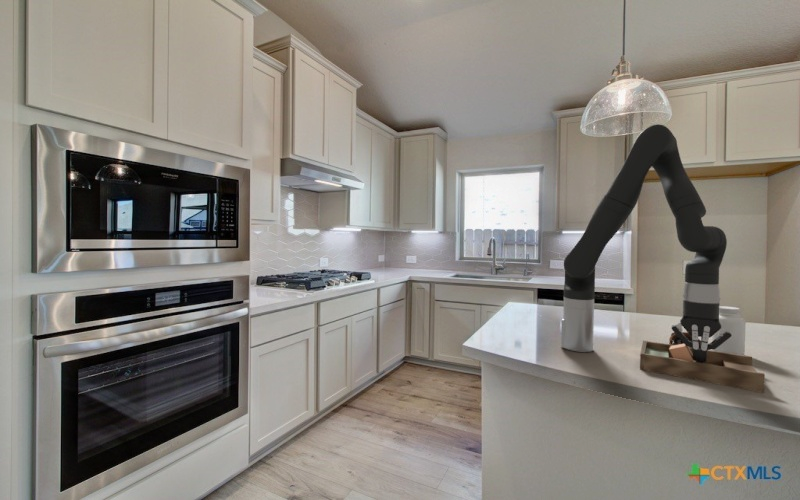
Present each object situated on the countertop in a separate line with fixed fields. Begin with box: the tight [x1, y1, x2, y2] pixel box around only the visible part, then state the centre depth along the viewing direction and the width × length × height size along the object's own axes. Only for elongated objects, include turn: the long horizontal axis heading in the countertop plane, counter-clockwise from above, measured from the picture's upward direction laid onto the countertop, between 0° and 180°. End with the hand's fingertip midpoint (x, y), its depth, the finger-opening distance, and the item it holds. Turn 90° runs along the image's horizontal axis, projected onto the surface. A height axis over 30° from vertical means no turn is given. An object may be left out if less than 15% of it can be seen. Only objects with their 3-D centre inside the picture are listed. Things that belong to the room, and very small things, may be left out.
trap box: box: [639, 339, 766, 393], centre depth 100 cm, size 25×16×4 cm, turn 53°
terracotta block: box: [669, 344, 693, 361], centre depth 99 cm, size 4×4×4 cm
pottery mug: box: [668, 331, 701, 348], centre depth 114 cm, size 12×10×8 cm
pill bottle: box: [711, 305, 747, 355], centre depth 115 cm, size 8×8×15 cm
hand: (699, 362), depth 96 cm, fingers closed
